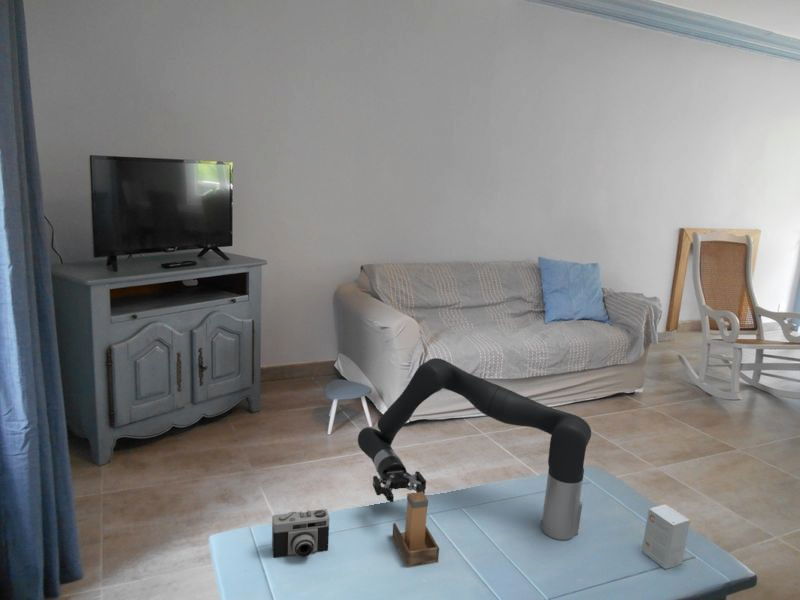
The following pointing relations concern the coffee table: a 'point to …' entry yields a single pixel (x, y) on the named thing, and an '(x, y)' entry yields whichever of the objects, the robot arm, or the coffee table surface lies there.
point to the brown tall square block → (416, 520)
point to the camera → (300, 533)
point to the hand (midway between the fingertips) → (407, 497)
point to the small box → (665, 536)
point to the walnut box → (416, 556)
